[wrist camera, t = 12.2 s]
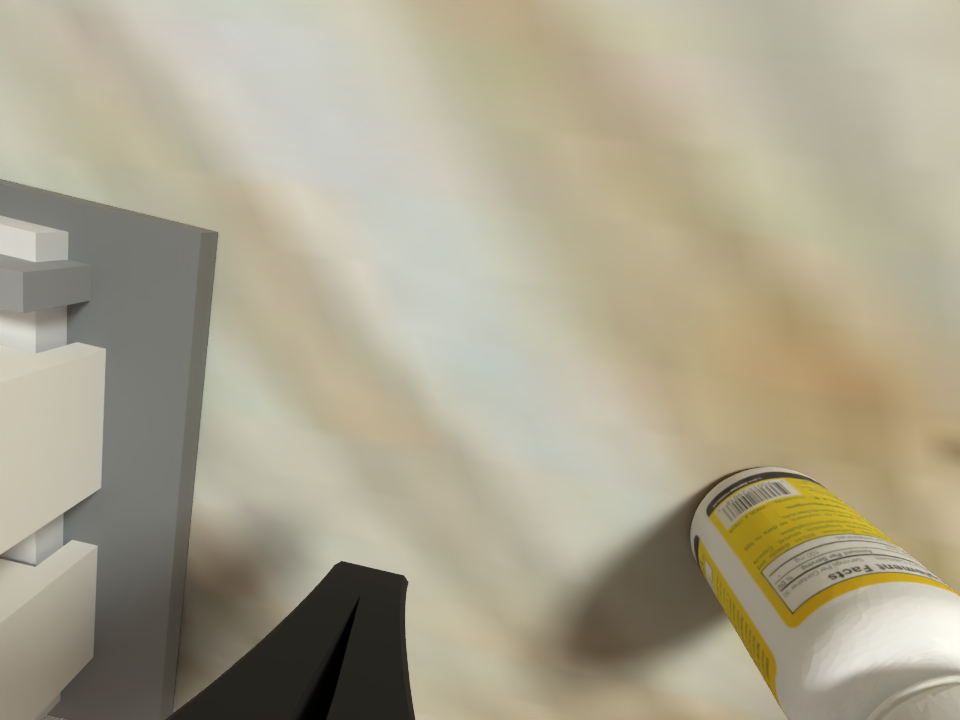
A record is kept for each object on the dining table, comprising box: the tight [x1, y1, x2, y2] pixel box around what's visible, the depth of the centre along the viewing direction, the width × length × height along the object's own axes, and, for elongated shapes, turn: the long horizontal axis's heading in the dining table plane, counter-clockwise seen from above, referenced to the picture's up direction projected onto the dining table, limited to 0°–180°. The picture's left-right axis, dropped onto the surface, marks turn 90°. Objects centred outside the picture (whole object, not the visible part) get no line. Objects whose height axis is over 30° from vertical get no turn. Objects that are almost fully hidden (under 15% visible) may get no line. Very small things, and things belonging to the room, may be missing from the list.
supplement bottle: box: [690, 467, 960, 720], centre depth 15 cm, size 5×5×10 cm
